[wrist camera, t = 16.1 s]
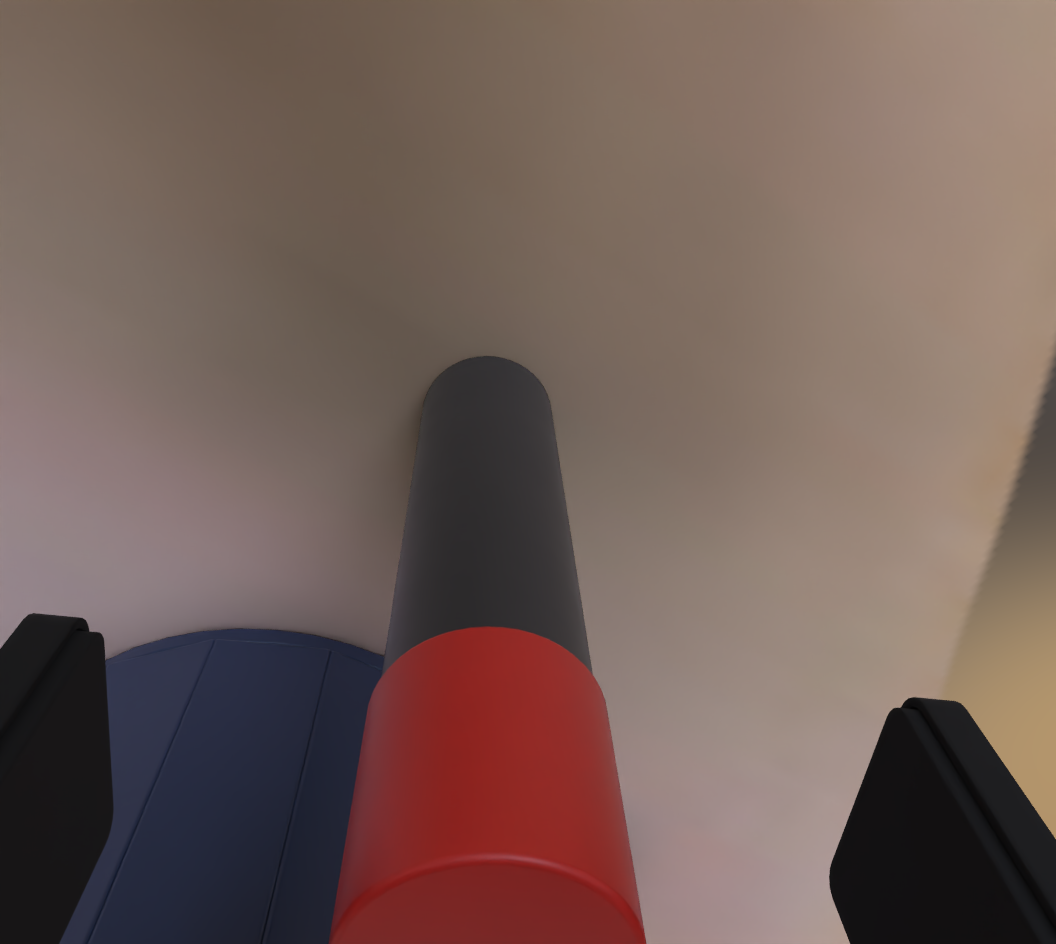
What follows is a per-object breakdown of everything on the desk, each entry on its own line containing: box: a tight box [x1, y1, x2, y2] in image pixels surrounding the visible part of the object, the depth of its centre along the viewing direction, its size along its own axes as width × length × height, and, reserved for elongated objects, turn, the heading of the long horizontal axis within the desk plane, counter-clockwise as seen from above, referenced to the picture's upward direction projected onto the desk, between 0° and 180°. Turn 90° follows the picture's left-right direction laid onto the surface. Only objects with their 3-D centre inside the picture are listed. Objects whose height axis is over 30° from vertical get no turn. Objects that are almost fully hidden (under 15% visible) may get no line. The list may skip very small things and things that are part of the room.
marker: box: [328, 356, 646, 944], centre depth 14 cm, size 3×3×12 cm
